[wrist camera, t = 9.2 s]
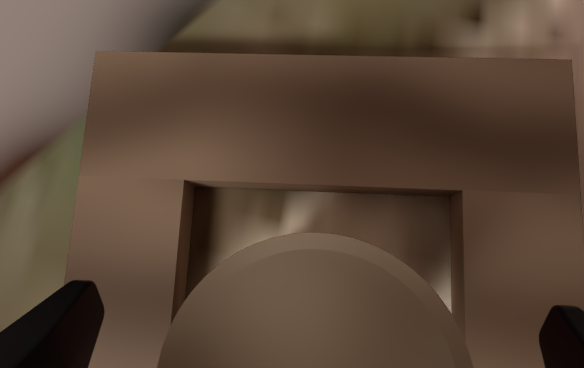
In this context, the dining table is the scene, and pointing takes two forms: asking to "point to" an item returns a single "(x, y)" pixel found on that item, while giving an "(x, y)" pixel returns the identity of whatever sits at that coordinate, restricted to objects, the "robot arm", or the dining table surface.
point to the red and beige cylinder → (313, 311)
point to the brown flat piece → (332, 176)
